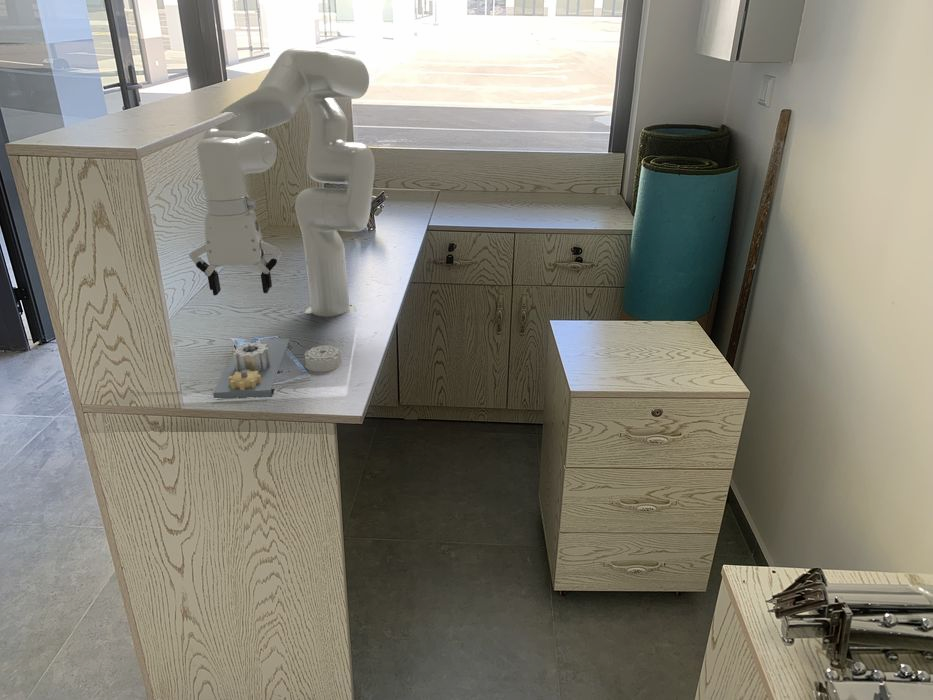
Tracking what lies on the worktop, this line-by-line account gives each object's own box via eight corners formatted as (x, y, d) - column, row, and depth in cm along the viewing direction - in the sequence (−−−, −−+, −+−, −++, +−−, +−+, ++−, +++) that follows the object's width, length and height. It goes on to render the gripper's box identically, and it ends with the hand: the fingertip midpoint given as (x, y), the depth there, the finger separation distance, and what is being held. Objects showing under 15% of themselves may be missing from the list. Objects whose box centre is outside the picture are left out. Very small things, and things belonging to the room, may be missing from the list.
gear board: (241, 346, 157) (238, 328, 155) (290, 344, 158) (288, 326, 156) (214, 399, 135) (210, 378, 133) (271, 396, 135) (268, 376, 134)
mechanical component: (345, 380, 142) (351, 360, 151) (343, 361, 140) (349, 341, 149) (296, 381, 142) (305, 360, 151) (293, 362, 140) (303, 342, 149)
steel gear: (239, 360, 147) (236, 342, 146) (273, 358, 148) (270, 341, 146) (232, 374, 141) (229, 357, 139) (267, 373, 142) (264, 355, 140)
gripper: (278, 200, 134) (289, 283, 142) (186, 203, 133) (202, 287, 141) (271, 209, 128) (283, 296, 135) (175, 212, 126) (192, 300, 134)
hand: (242, 292), depth 138 cm, fingers open, 9 cm apart
